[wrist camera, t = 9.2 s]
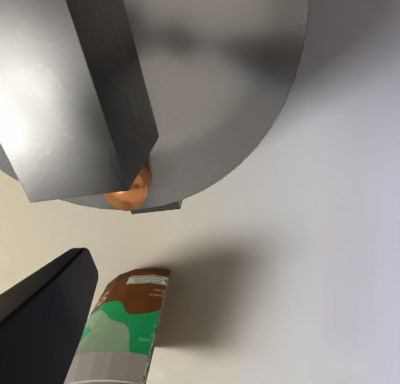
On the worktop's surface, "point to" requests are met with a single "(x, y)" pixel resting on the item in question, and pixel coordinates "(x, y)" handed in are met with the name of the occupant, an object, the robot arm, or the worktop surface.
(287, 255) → the worktop surface
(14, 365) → the robot arm
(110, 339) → the food container
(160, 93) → the lid
